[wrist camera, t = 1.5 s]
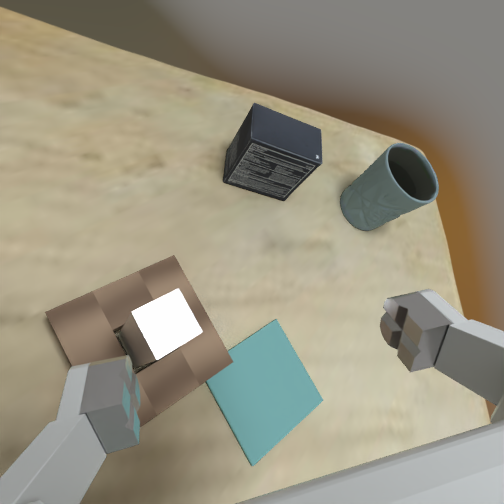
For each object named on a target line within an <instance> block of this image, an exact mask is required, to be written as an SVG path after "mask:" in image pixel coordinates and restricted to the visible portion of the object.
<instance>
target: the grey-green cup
mask: <svg viewBox="0 0 504 504" xmlns="http://www.w3.org/2000/svg"><path fill="white" fill-rule="evenodd" d="M438 188H439V187H438V180H437V177H436V174H435V172H434V170H433V168H432V166H431V165H430V163H429V161H428V160H427V159H426V158H425V157H424V156H423V155H422V154H421V153H420V152H419V151H418V150H416V149H415V148H414V147H412V146H410V145H407V144H404V143H396V144H393V145H391V146H390V147H389V148H388V149H387V150H386V151H385V152H384V153H383V154H382V155H381V156H380V157H379V158H378V159H377V160H376V161H375V162H374V163H373V164H372V165H370V166H369V168H368V169H367V170H365V171H364V173H363V174H361V175H360V177H358V178H357V179H356V180H355V181H354V182H353V183H352V185H350V186H349V187H348V188H347V189H345V190H344V192H343V193H342V195H341V199H340V204H341V209H342V212H343V214H344V216H345V217H346V219H347V220H348V221H349V223H350V224H352V225H353V226H354V227H356V228H358V229H360V230H365V231H369V230H373V229H375V228H377V227H379V226H381V225H383V224H385V223H386V222H389V221H391V220H393V219H396V218H398V217H400V215H401V214H405V213H408V212H410V211H412V210H415V209H417V208H419V207H421V206H424V205H426V204H428V203H430V202H432V201H434V200H435V198H436V196H437V194H438Z"/></svg>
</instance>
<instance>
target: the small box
mask: <svg viewBox="0 0 504 504" xmlns="http://www.w3.org/2000/svg"><path fill="white" fill-rule="evenodd" d="M321 164H322V138H321V129H318V128H316V127H313V126H311V125H308V124H306V123H303V122H301V121H298V120H296V119H293V118H291V117H288V116H286V115H283V114H281V113H278V112H276V111H273V110H271V109H268V108H266V107H264V106H261V105H259V104H256V103H254V104H253V106H252V107H251V109H250V111H249V113H248V115H247V116H246V118H245V120H244V122H243V123H242V125H241V127H240V129H239V130H238V132H237V134H236V136H235V137H234V139H233V141H232V143H231V144H230V146H229V148H228V149H227V153H226V160H225V168H224V176H223V182H224V183H227V184H230V185H234V186H237V187H240V188H243V189H247V190H250V191H253V192H257V193H260V194H263V195H266V196H270V197H273V198H276V199H279V200H283V201H285V200H286V199H287V198H288V196H289V195H290V194H291V193H292V192H293V191H294V190H295V189H296V188H297V187H298V186H299V185H300V184H301V183H302V182H303V181H304V180H305V179H306V178H307V177H308V176H309V175H310V174H311V173H313V171H314V170H315V169H316V168H317V167H319V166H320V165H321Z"/></svg>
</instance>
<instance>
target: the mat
mask: <svg viewBox="0 0 504 504" xmlns="http://www.w3.org/2000/svg"><path fill="white" fill-rule="evenodd" d="M228 353H229V355H230V356H231V358H232V360H233V363H231V364H230V365H228V366H227V367H226V368H224V369H223V370H221V371H220V372H218V373H217V374H216V375H214V376H213V377H211V378H210V379H208V380H207V381H206V383H207V385H208V387H209V389H210V391H211V392H212V394H213V396H214V398H215V400H216V402H217V403H218V405H219V407H220V409H221V411H222V413H223V414H224V416H225V418H226V420H227V422H228V424H229V426H230V427H231V429H232V431H233V433H234V435H235V437H236V438H237V440H238V442H239V444H240V446H241V448H242V449H243V451H244V453H245V455H246V457H247V459H248V460H249V462H250V464H251V466H254V465H255V464H256V463H257V462H258V461H259V460H260V459H261V458H262V457H263V456H264V455H266V454H267V453H268V452H269V451H270V450H271V449H272V448H273V447H274V446H275V445H276V444H277V443H278V442H279V441H281V440H282V439H283V438H284V437H285V436H286V435H287V434H288V433H289V432H290V431H291V430H292V429H293V428H294V427H295V426H297V425H298V424H299V423H300V422H301V421H302V420H303V419H304V418H305V417H306V416H307V415H308V414H309V413H310V412H311V411H313V410H314V409H315V408H316V407H317V406H318V405H319V404H320V403H321V402H322V401H323V399H322V397H321V395H320V394H319V392H318V390H317V389H316V387H315V385H314V383H313V382H312V380H311V378H310V376H309V375H308V373H307V371H306V369H305V368H304V366H303V364H302V363H301V361H300V359H299V357H298V356H297V354H296V352H295V350H294V349H293V347H292V345H291V343H290V342H289V340H288V338H287V337H286V335H285V333H284V331H283V330H282V328H281V326H280V324H279V323H278V321H277V319H275V320H273V321H272V322H270V323H269V324H267V325H266V326H264V327H263V328H261V329H260V330H258V331H257V332H256V333H254V334H253V335H251V336H250V337H248V338H247V339H245V340H244V341H242V342H241V343H239V344H238V345H236V346H235V347H233V348H232V349H230V350H229V351H228Z"/></svg>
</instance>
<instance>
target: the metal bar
mask: <svg viewBox="0 0 504 504" xmlns="http://www.w3.org/2000/svg"><path fill="white" fill-rule="evenodd" d="M201 333H202V330H201V328H200V326H199V324H198V322H197V321H196V319H195V317H194V315H193V313H192V312H191V310H190V308H189V306H188V304H187V303H186V301H185V299H184V297H183V295H182V293H181V292H180V290H179V288H178V289H176V290H174V291H172V292H170V293H168V294H166V295H164V296H162V297H160V298H158V299H156V300H154V301H152V302H150V303H148V304H146V305H144V306H142V307H140V308H138V309H136V310H134V311H132V312H131V314H130V315H129V317H128V319H127V320H126V322H125V324H124V326H123V327H122V329H121V331H120V332H119V334H118V338H119V340H120V341H121V343H122V345H123V347H124V349H125V351H126V353H127V355H128V356H129V357H130V359H131V362H132V364H133V366H134V368H137V367H140V366H142V365H145V364H148V363H150V362H153V361H155V360H158V359H159V358H161V357H163V356H164V355H166V354H168V353H169V352H171V351H172V350H174V349H176V348H177V347H179V346H181V345H182V344H184V343H186V342H187V341H189V340H191V339H192V338H194V337H196V336H197V335H199V334H201Z"/></svg>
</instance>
